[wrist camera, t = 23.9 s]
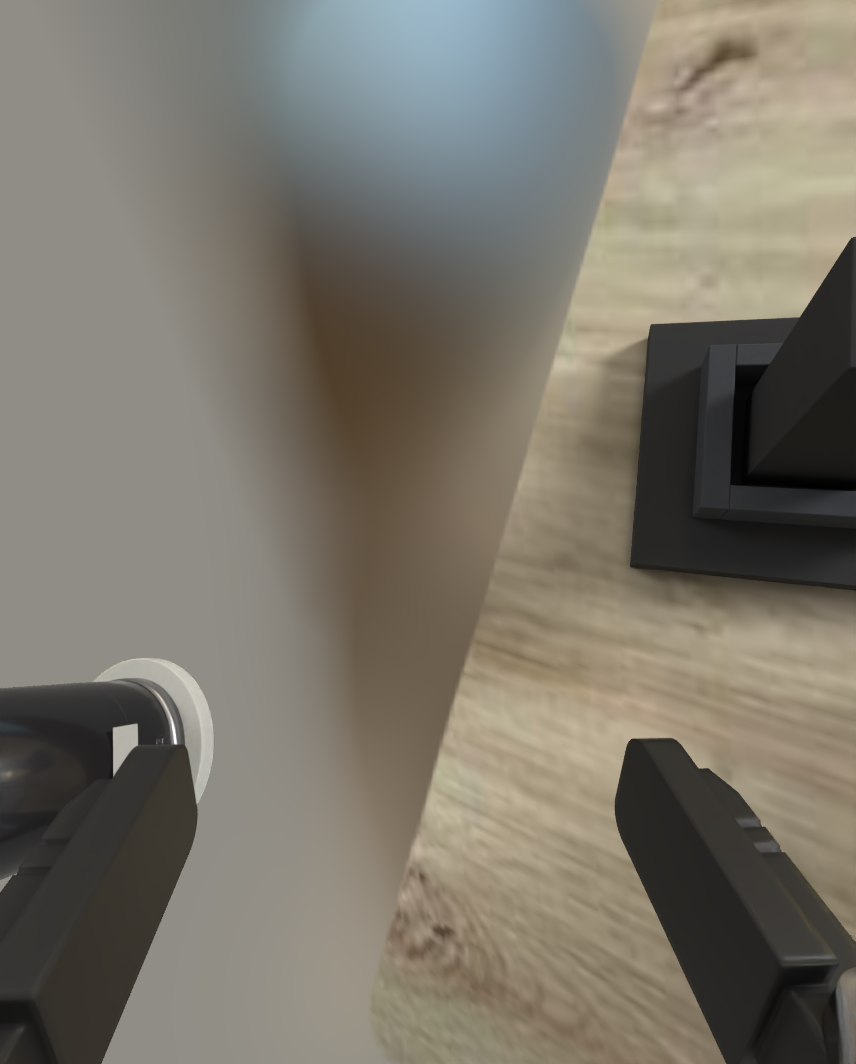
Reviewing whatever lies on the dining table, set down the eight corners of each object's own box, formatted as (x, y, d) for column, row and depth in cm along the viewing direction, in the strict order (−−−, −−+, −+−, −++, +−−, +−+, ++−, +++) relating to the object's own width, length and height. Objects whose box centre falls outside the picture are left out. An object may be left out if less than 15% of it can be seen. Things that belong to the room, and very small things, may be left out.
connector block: (740, 483, 25) (847, 368, 15) (746, 399, 26) (851, 235, 15) (851, 490, 23) (1056, 368, 13) (853, 401, 24) (1049, 221, 14)
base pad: (629, 567, 27) (635, 557, 24) (648, 336, 29) (655, 300, 26) (962, 601, 22) (1020, 594, 19) (950, 324, 25) (1000, 280, 22)
